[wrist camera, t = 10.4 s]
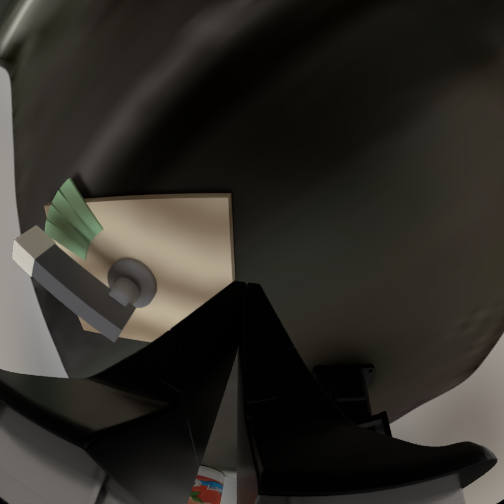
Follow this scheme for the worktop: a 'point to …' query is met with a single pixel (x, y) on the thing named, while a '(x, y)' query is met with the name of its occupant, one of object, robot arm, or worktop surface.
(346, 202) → the worktop surface
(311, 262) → the worktop surface
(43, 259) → the peg
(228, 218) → the beige flat board
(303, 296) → the worktop surface
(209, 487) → the fruit juice
